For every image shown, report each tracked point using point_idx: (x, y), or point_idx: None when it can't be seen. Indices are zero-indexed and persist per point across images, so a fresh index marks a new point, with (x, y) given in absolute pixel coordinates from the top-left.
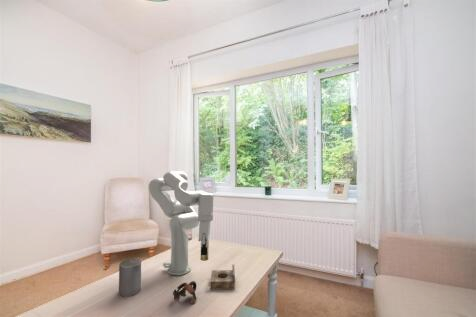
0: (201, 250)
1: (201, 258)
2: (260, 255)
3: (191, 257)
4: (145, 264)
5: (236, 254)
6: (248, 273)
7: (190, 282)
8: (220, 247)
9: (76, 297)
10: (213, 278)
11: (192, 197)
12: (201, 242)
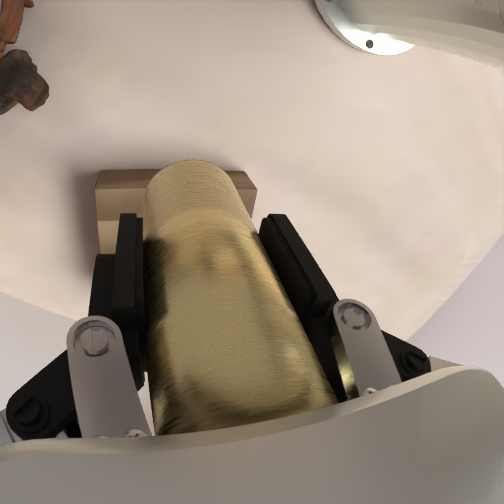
0: (115, 265)
1: (157, 184)
2: None
3: (475, 87)
4: None
5: (416, 275)
6: None
7: (18, 73)
8: (486, 218)
9: None
10: (137, 205)
11: None
12: (80, 425)
